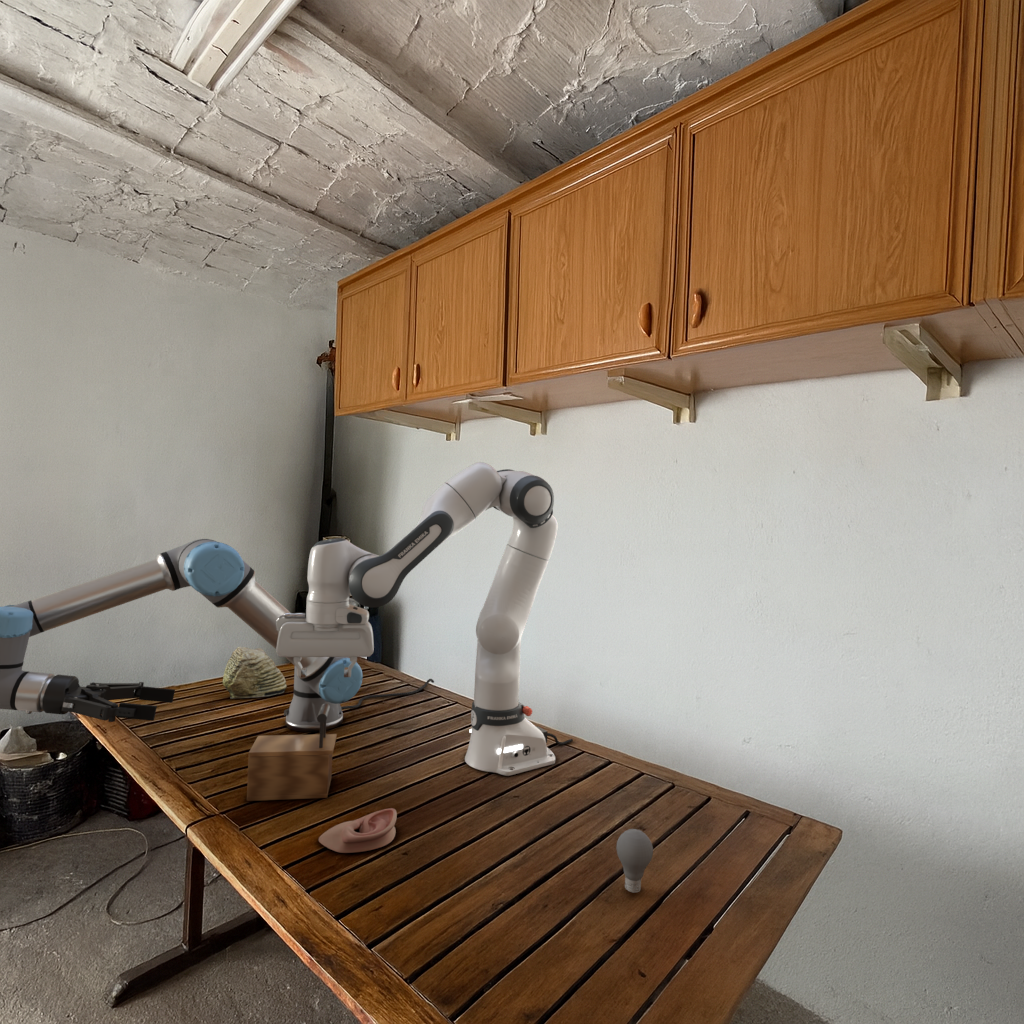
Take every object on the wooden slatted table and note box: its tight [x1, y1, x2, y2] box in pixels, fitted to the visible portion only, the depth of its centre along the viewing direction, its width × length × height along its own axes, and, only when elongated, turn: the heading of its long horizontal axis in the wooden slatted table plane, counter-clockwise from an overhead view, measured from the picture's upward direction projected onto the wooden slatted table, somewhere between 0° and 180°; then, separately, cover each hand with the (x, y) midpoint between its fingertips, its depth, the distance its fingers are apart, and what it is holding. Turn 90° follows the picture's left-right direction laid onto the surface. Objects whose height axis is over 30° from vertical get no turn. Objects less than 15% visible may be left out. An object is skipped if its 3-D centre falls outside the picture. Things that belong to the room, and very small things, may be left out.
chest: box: [246, 754, 333, 802], centre depth 136 cm, size 16×9×9 cm, turn 101°
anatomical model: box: [318, 807, 398, 854], centre depth 118 cm, size 13×4×12 cm
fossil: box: [222, 646, 288, 699], centre depth 198 cm, size 9×18×15 cm, turn 132°
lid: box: [248, 703, 338, 758], centre depth 136 cm, size 17×9×8 cm, turn 101°
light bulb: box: [615, 828, 654, 894], centre depth 106 cm, size 6×6×10 cm
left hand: (164, 704), depth 132 cm, fingers open, 13 cm apart
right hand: (325, 676), depth 137 cm, fingers open, 8 cm apart
